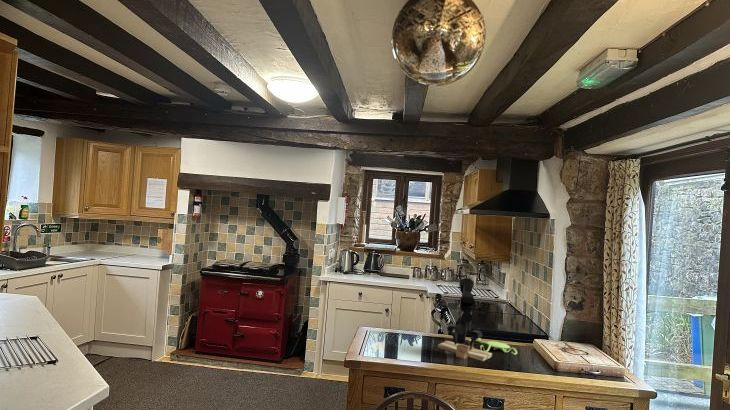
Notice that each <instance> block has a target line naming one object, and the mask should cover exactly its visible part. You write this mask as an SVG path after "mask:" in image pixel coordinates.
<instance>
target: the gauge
mask: <svg viewBox="0 0 730 410" xmlns="http://www.w3.org/2000/svg"><path fill="white" fill-rule="evenodd" d="M459 344H460V343H459ZM473 348H475V346H474V345H473V347H472V349H473ZM469 350H470V345H466V344H464V343H461V344H460V345H457V350H456V353H455V357H457V358H460V359H463V360H465V359H467V358H469V357H468V354H469Z"/></svg>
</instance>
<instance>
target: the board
mask: <svg viewBox="0 0 730 410" xmlns="http://www.w3.org/2000/svg"><path fill="white" fill-rule="evenodd" d="M457 345H460V343H457V344H456V345H455V343H454V341H450V340H446V341H443V342H441V343H438V344H437V349H441V350H443V351H447V352H450V353H453V354H456V350H457ZM492 357H493V353H492V352H489V351H488V352H486V350H485V351H484V350H481V349H478V348H475V347H474V348H473V349H470V350H469V354H468V357H467V358H470V359H473V360H474V359H475V360H477V361H480V362H485V361H486V360H488V359H491V358H492Z"/></svg>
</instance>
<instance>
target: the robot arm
mask: <svg viewBox="0 0 730 410" xmlns="http://www.w3.org/2000/svg"><path fill="white" fill-rule="evenodd" d="M474 286H475V281H474V280H473V279H471V278H469V277H468V278H467V277H464V278H461V279H459V284H458V287H459V291H460V293H461V296H460V299H459V309H460V310H459V315H458V316H457V317H456V321H455V323H454V324H449V325H448V326H447V327H446V331H448V333H450V334H451V335H452V339H453V342H454V343H455V345H456V344H458V343H459V344H460V343H461V344H464V343H467V342H468V340H467V339H466V337H467V334H468V335H470V336H471V337H470V339H471V341H470V342H469V343H470V344H469V346H470V349H472V347H473V346H474V345H475V343H476V341H477V339H478V338H483V332H482V331H480V330H476V329H475V330H472V327H471V324H472V321H473V313H472V311H475V309H476V299H475V298H474V294H472V291H473V289H474V288H475V287H474Z"/></svg>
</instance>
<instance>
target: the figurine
mask: <svg viewBox="0 0 730 410" xmlns="http://www.w3.org/2000/svg"><path fill="white" fill-rule="evenodd" d="M481 338H482V337H480V338H478V339H477V340H476V341H477V342H478V343H481V345H480V350H482V348H483V350H482V351H486V352H489V351H490V349H491V347H492V348H493V350H494V351H496V350H498V349H500V351H503V352H504V353H509V352H510V351H511V350H513V351H514V352H513V351H511V354H512V355H514V356H516V354H517V355H518V351H517V349H516V348H514V347H511V346H510V345H509V344H506V343H504V342H502V341H491V340H490V341H485V340H482V339H481ZM468 342H471V338H470V339H468ZM483 344H486V345H487V346H488V347H487V349H486V350H485V347H484V345H483Z"/></svg>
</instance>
